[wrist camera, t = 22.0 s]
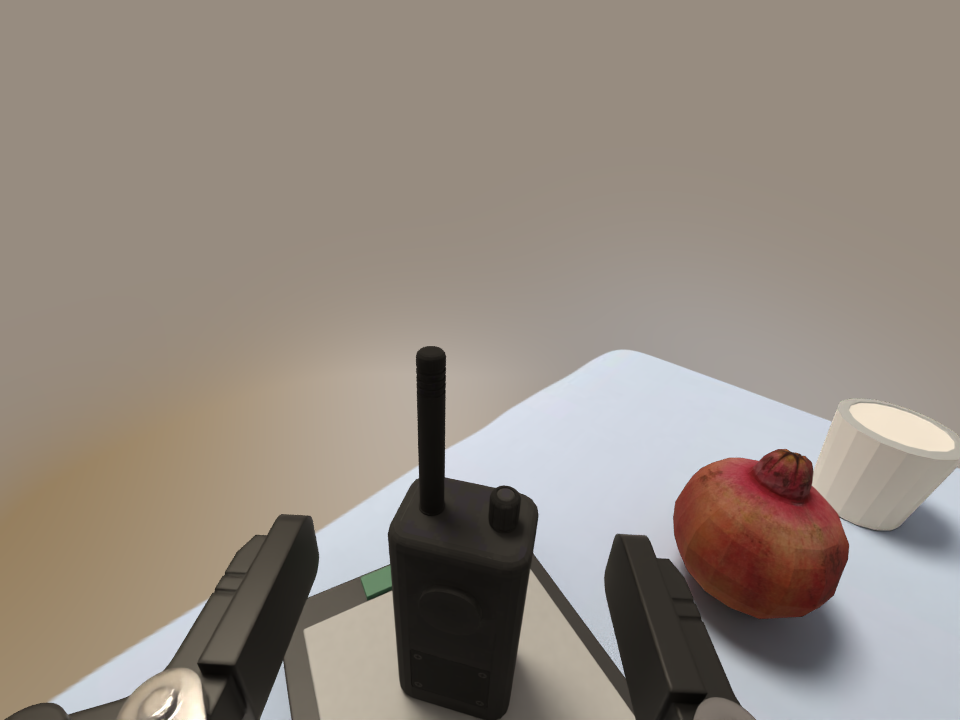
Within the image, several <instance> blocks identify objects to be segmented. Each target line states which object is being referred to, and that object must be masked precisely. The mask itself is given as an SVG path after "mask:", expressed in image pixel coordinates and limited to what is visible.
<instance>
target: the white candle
mask: <svg viewBox="0 0 960 720" xmlns="http://www.w3.org/2000/svg"><path fill="white" fill-rule="evenodd" d="M959 464H960V437H959V436H958V434H956V433H955V432H953V431H952V430H950V429H949V428H947V427H945V426H944V425H942V424H941V423H939V422H937V421H935V420H933V419H931V418H929V417H927V416H924V415H922V414H920V413H918V412H916V411H913V410H909V409H907V408H904V407H901V406H897V405H895V404H892V403H887V402H882V401H877V400H873V399H860V398H850V399H847V400H843V401H840V403H839V406H838V408H837V410H836V413H835V415H834V418H833V420H832V423H831V426H830V428H829V431H828V434H827V436H826V439H825V442H824V444H823V447H822V449H821V452H820V455H819V457H818V460H817V463H816V465H815V468H814V471H813V481H812V486H813V487H814V488H815V489H816V490H817V491H818V492H819V493H820V494H821V495H822V496H823V497H824V498H825V499H826V500H827V501H828V503H829V504H830V505H831V506H832V507H833V509H834V510H835V511H836V512H837V513H838V516H839V517H841V518H843V519H845V520H847V521H850V522H852V523H854V524H856V525H859V526H862V527H866V528H869V529H873V530H886V531H891V530H893V529H895V528H897V527H899V526H901V525H902V523H903V522H904V521H905V520H906V519H907V518H908V517H909V516H910V515H911V514H912V513H913V512H914V511H915V510H916V509H917V508H918V507H919V506H920V505H921V504H922V503H923V502H924V501H925V500H926V499H927V498H928V497H929V496H930V495H931V493H932V492H933V491H934V490H935V489H936V488H937V487H938V486H939V485H940V484H941V483H942V482H943V481H944V480H945V479H946V478H947V477H948V476H949V475H950V474H951V473H952V472H953V471H954V470H955V469H956V468H957V467H958V465H959Z"/></svg>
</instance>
